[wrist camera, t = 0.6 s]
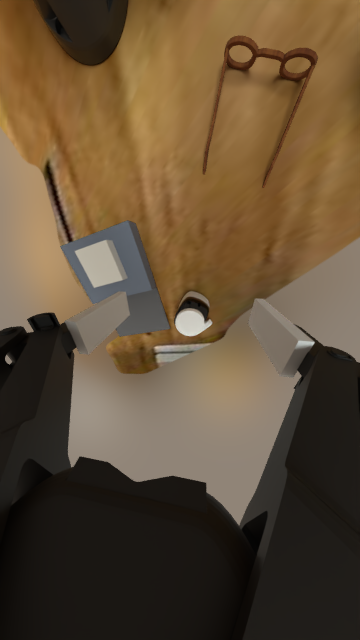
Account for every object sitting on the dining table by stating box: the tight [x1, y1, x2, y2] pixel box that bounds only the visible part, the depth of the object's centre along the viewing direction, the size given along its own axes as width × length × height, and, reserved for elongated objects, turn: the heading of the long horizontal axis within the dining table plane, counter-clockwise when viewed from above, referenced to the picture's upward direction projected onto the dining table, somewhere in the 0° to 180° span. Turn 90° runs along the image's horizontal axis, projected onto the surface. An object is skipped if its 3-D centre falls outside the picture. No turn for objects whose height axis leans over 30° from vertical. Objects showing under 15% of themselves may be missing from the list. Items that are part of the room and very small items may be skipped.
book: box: [60, 220, 156, 304], centre depth 37 cm, size 16×20×4 cm
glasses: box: [203, 36, 318, 188], centre depth 23 cm, size 13×13×5 cm
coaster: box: [75, 240, 127, 288], centre depth 34 cm, size 9×9×2 cm
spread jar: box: [174, 291, 212, 336], centre depth 37 cm, size 12×11×12 cm
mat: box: [116, 287, 170, 337], centre depth 46 cm, size 14×20×1 cm
